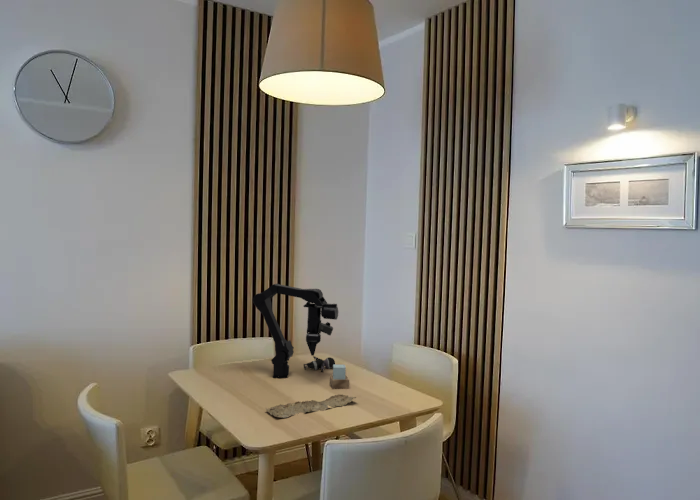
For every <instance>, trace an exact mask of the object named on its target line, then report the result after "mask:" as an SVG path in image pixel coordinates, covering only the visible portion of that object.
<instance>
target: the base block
mask: <svg viewBox="0 0 700 500" xmlns="http://www.w3.org/2000/svg"><path fill="white" fill-rule="evenodd" d="M329 386H330V387H331V389H332V390H347V389H350V378H348V376H347V374H345V379H333V375H329Z"/></svg>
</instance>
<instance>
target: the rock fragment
mask: <svg viewBox="0 0 700 500" xmlns="http://www.w3.org/2000/svg"><path fill="white" fill-rule="evenodd" d="M356 398H357V396H354V397H353V396H349V395H345V394H337V395H336V394H335V395H332V396H330V397H329V398H326V399H325V400H322V401H317V400H313V399H312V400H305V401H296V402H293V403H291V402H290V403H287V404H281V403H280V404H279V405H275V406H271V407H270V408H267V407H265V411H266V412H267V413H269V414H270V416H274V417H276V418H281V419H283V418H284V419H285V418H289V417H291V416H296V414H297V415H298V414H300V413H301V414H302V413H303V415H305V414H306V413H311V412H321V411H327V409H329V410H330V409H333V408H335V407H346V405H348V403H351V402H352V401H353V400H354V399H356ZM328 406H329V407H328Z"/></svg>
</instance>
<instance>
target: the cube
mask: <svg viewBox="0 0 700 500" xmlns="http://www.w3.org/2000/svg"><path fill="white" fill-rule="evenodd" d="M346 371H347V370H346V364H336V363H335V364H333V368H332V376H333V379H345V375H346Z"/></svg>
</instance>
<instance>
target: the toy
mask: <svg viewBox="0 0 700 500" xmlns="http://www.w3.org/2000/svg"><path fill="white" fill-rule="evenodd" d="M312 357H313V360H312V361H310V362H307V363H303V369H304V370H305V371H306V370H307V368H308V369H311V370H313V371H318V370H320V369H321V371H320V373H322V372H324V370H325V369H326V370H327V369H330V370H331V369H333V364H336V361H335V359H334V358H333V357H326V358H325V359H322V358H319V357H316V356H315V355H314V356H312Z"/></svg>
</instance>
